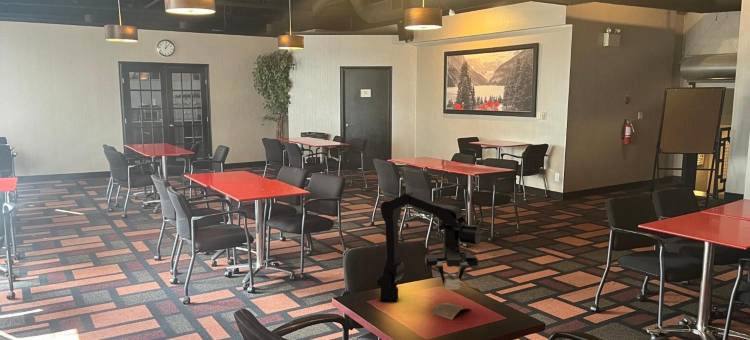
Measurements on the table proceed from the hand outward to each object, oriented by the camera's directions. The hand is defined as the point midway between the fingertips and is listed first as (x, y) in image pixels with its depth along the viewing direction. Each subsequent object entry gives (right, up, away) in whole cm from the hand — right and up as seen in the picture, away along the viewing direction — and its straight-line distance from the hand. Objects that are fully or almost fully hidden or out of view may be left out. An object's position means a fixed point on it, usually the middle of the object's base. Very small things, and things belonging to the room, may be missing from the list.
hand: (450, 283), depth 214 cm
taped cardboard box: (0, -1, 0) cm, 1 cm away
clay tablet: (0, -12, +2) cm, 12 cm away
